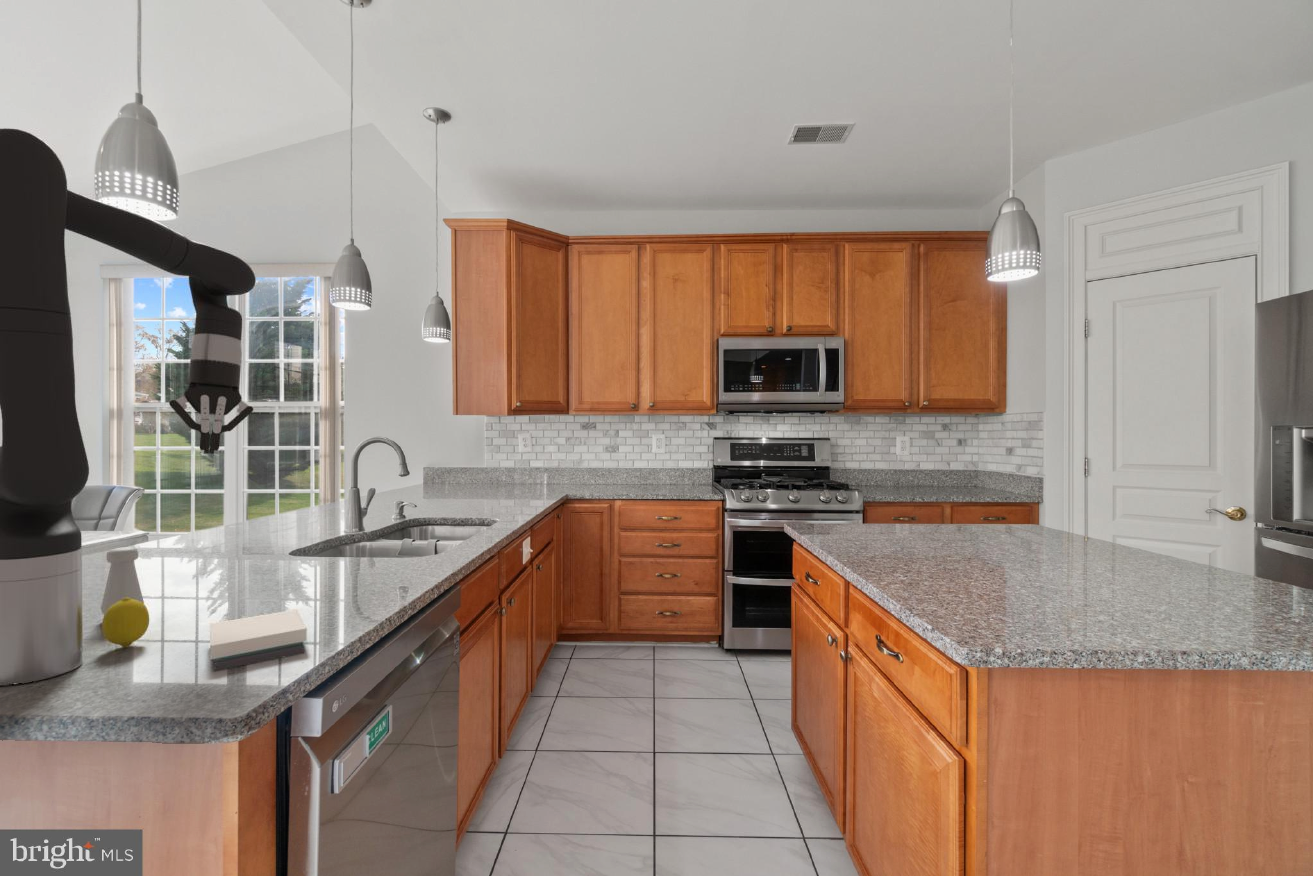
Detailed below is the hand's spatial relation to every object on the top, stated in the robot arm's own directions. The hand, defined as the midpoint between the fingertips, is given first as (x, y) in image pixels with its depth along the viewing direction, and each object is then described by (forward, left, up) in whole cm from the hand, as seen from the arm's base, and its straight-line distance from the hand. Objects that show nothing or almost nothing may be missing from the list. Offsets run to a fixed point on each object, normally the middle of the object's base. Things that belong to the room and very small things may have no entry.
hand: (209, 453), depth 105 cm
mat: (+6, -25, -31) cm, 40 cm away
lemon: (-11, -11, -31) cm, 34 cm away
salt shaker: (-13, +8, -31) cm, 34 cm away
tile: (+6, -18, -28) cm, 34 cm away
